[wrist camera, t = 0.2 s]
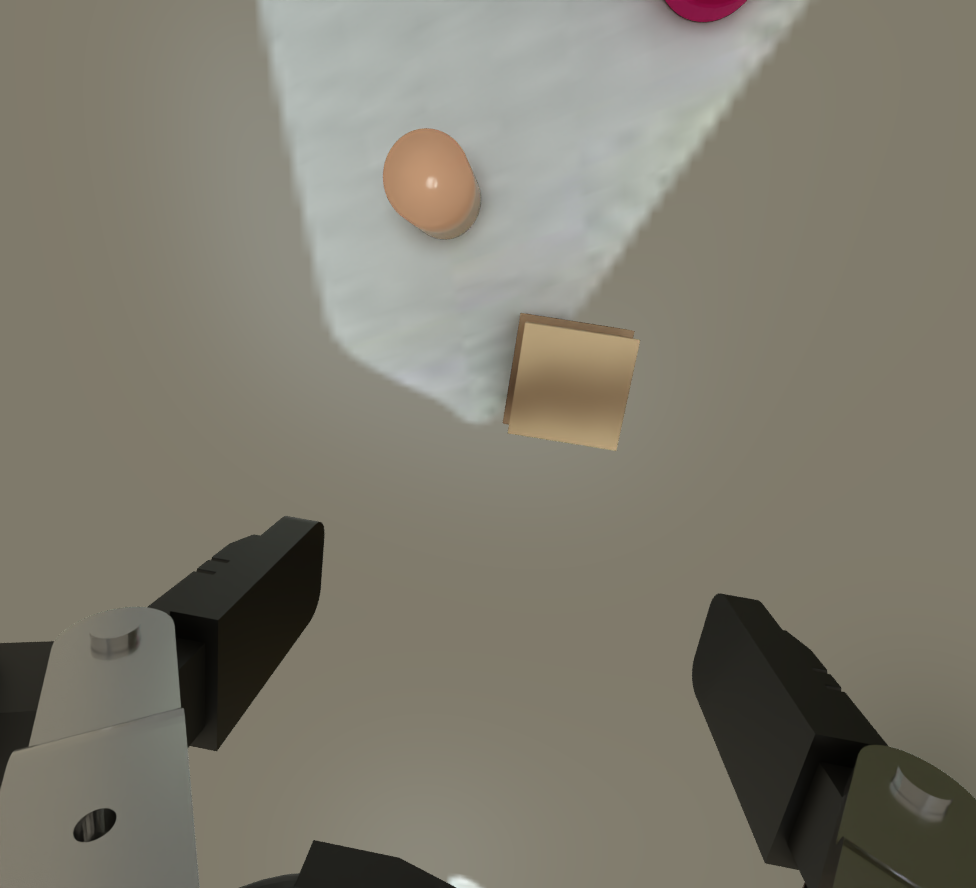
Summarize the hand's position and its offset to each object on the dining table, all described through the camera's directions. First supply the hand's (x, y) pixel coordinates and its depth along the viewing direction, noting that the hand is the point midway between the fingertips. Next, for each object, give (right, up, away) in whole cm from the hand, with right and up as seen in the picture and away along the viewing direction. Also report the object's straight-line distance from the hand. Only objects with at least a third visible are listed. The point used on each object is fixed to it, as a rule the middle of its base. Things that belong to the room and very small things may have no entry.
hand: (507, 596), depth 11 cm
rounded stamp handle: (-3, +20, +25) cm, 32 cm away
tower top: (+5, +7, +22) cm, 24 cm away
